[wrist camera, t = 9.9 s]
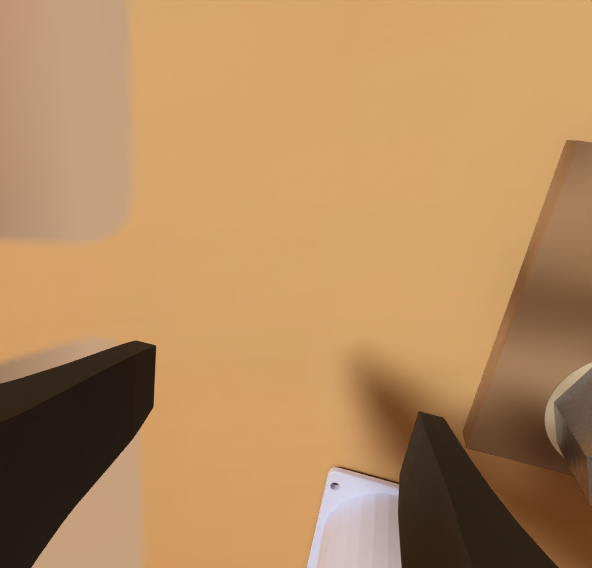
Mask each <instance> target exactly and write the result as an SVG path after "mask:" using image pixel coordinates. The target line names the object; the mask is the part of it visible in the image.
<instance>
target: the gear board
mask: <svg viewBox="0 0 592 568" xmlns="http://www.w3.org/2000/svg"><path fill="white" fill-rule="evenodd" d="M591 368H592V143H590V142H584V141H573V140H567V141H566V144H565V146H564V149H563V152H562V155H561V158H560V160H559V163H558V166H557V169H556V172H555V175H554V177H553V180H552V183H551V186H550V189H549V191H548V194H547V197H546V200H545V203H544V205H543V208H542V211H541V214H540V217H539V219H538V222H537V225H536V228H535V231H534V233H533V236H532V239H531V242H530V245H529V247H528V250H527V253H526V256H525V259H524V262H523V264H522V267H521V270H520V273H519V276H518V278H517V281H516V284H515V287H514V290H513V292H512V295H511V298H510V301H509V304H508V306H507V309H506V312H505V315H504V318H503V320H502V323H501V326H500V329H499V332H498V335H497V337H496V340H495V343H494V346H493V349H492V351H491V354H490V357H489V360H488V363H487V365H486V368H485V371H484V374H483V377H482V379H481V382H480V385H479V388H478V391H477V393H476V396H475V399H474V402H473V405H472V408H471V410H470V413H469V416H468V419H467V422H466V424H465V427H464V430H463V435H464V439H465V443H466V448H468V449H472V450H476V451H480V452H484V453H488V454H492V455H495V456H499V457H503V458H507V459H511V460H515V461H519V462H522V463H526V464H530V465H534V466H538V467H542V468H546V469H550V470H553V471H557V472H561V473H565V474H569V475H573V473H572V471H571V469H570V467H569V465H568V464H567V462H566V460H565V458H564V456H563V454H562V452H561V450H560V449H559V447H558V445H557V439H556V427H555V415H554V401H555V400H557V399H558V398H559V397H560V396H561V395H562V394H563V393H564V392H565V391H566V390H567V389H569V388H570V387H571V386H572V385H573V384H574V383H575V382H576V381H577V380H578V379H580V378H581V377H582V376H583V375H584V374H585V373H586V372H587V371H588V370H589V369H591ZM573 476H574V475H573Z"/></svg>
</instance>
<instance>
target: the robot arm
mask: <svg viewBox="0 0 592 568" xmlns="http://www.w3.org/2000/svg"><path fill="white" fill-rule="evenodd" d="M155 359H156V345H152V344H148V343H144V342H140V341H132V342H128V343H125V344H122V345H119V346H116V347H113V348H110V349H107V350H105V351H101V352H99V353H96V354H93V355H90V356H87V357H84V358H82V359H79V360H76V361H73V362H70V363H67V364H64V365H61V366H58V367H55V368H52V369H49V370H46V371H43V372H39V373H36V374H33V375H30V376H26V377H24V378H20V379H16V380H13V381H9V382H5V383H1V384H0V568H31V567H32V566H33V564H34V563H35V561H36V560H37V558H38V557H39V555H40V554H41V552H42V551H43V549H44V548H45V547H46V545H47V544H48V542H49V541H50V539H51V538H52V537H53V535H54V534H55V533H56V531H57V530H58V528H59V527H60V526H61V524H62V523H63V521H64V520H65V519H66V518H67V516H68V515H69V514H70V512H71V511H72V510H73V508H74V507H75V506H76V505H77V504H78V502H79V501H80V500H81V499H82V498H83V497H84V496H85V494H86V493H87V492H88V491H89V490H90V489H91V487H92V486H93V485H94V484H95V483H96V481H97V480H98V479H99V478H100V477H101V476H102V475H103V473H104V472H105V471H106V470H107V469H108V468H109V466H110V465H111V464H112V463H113V462H114V461H115V459H116V458H117V457H118V456H119V455H120V453H121V452H122V451H123V450H124V448H125V447H126V446H127V445H128V444H129V443H130V442H131V440H132V439H133V438H134V436H135V435H136V433H137V432H138V430H139V429H140V427H141V426H142V425H143V423H144V421H145V420H146V418H147V417H148V415H149V413H150V412H151V410H152V408H153V405H154V382H155ZM333 483H337V484H339V485H334V484H333ZM307 568H558V567H557V566H556V565H555V563H554V562H553V561H552V560H551V559H550V558H549V557H548V556H547V555H546V554H545V553H544V552H543V551H542V549H541V548H540V547H539V546H538V545H537V544H536V543H535V542H534V541H533V539H532V538H531V537H530V536H529V535H528V534H527V533H526V532H525V530H524V529H523V528H522V527H521V526H520V525H519V523H518V522H517V521H516V520H515V519H514V517H513V516H512V515H511V514H510V512H509V511H508V510H507V508H506V507H505V506H504V505H503V503H502V502H501V501H500V500H499V498H498V497H497V496H496V494H495V493H494V492H493V490H492V489H491V488H490V486H489V485H488V484H487V482H486V481H485V479H484V478H483V477H482V475H481V474H480V472H479V471H478V470H477V468H476V467H475V465H474V464H473V462H472V461H471V459H470V458H469V456H468V455H467V453H466V452H465V450H464V449H463V447H462V446H461V444H460V443H459V441H458V439H457V438H456V436H455V435H454V433H453V432H452V430H451V429H450V427H449V425H448V424H447V422H446V421H445V419H444V418H443V417H439V416H435V415H431V414H427V413H423V412H419V413H418V416H417V419H416V423H415V426H414V429H413V432H412V436H411V439H410V442H409V445H408V449H407V452H406V455H405V459H404V462H403V465H402V468H401V472H400V478H399V484H396V483H393V482H389V481H385V480H382V479H378V478H374V477H371V476H367V475H364V474H360V473H356V472H353V471H349V470H345V469H342V468H337V467H335V468H332V469H330V471H329V473H328V477H327V481H326V486H325V490H324V494H323V499H322V503H321V507H320V512H319V516H318V521H317V525H316V529H315V534H314V538H313V542H312V547H311V551H310V555H309V560H308V564H307Z"/></svg>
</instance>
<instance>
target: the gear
mask: <svg viewBox="0 0 592 568" xmlns="http://www.w3.org/2000/svg"><path fill="white" fill-rule="evenodd" d="M554 415H555V427H556V439H557V445H558V447H559V449H560V450H561V452H562V454H563V456H564V458H565V460H566V462H567V464H568V465H569V467H570V469H571V471H572V473H573V475H574V477H575V479H576V480H577V482H578V484H579V486H580V488H581V490H582V492H583V494H584V495H585V497H586V499H587V501H588V503H589V505H590V506H592V368H591V369H589V370H588V371H587V372H586V373H585V374H584V375H583V376H582V377H581V378H580V379H578V380H577V381H576V382H575V383H574V384H573V385H572V386H571V387H570V388H569V389H567V390H566V391H565V392H564V393H563V394H562V395H561V396H560V397H559V398H558V399H557V400H555V401H554Z"/></svg>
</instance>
